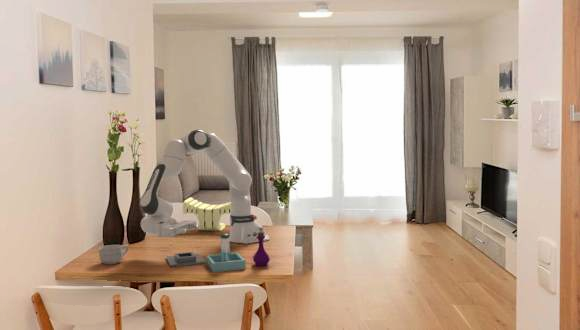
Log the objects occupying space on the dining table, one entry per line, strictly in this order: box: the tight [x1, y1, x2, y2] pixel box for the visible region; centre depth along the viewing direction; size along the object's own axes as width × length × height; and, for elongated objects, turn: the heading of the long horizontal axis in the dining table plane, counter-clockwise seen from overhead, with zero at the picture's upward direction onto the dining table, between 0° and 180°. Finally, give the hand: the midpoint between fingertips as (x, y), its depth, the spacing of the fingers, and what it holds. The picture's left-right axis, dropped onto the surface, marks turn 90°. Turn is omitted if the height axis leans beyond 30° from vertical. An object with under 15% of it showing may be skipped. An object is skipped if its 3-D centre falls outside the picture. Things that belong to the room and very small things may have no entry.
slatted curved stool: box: [182, 196, 231, 232], centre depth 354 cm, size 30×16×18 cm, turn 83°
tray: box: [205, 252, 247, 273], centre depth 273 cm, size 15×15×4 cm
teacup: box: [98, 244, 129, 265], centre depth 281 cm, size 14×11×8 cm
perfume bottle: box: [252, 226, 271, 267], centre depth 273 cm, size 8×8×18 cm
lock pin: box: [219, 232, 231, 262], centre depth 272 cm, size 4×4×14 cm
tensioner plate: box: [165, 251, 206, 268], centre depth 283 cm, size 16×16×3 cm
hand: (191, 229), depth 280 cm, fingers open, 8 cm apart
